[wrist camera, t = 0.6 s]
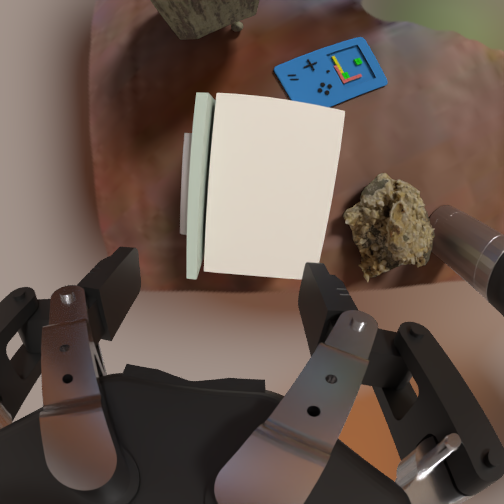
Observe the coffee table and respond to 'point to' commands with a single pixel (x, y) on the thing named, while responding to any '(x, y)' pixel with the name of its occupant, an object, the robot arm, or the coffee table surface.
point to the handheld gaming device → (332, 74)
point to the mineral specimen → (390, 226)
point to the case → (269, 184)
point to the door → (196, 181)
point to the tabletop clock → (204, 15)
